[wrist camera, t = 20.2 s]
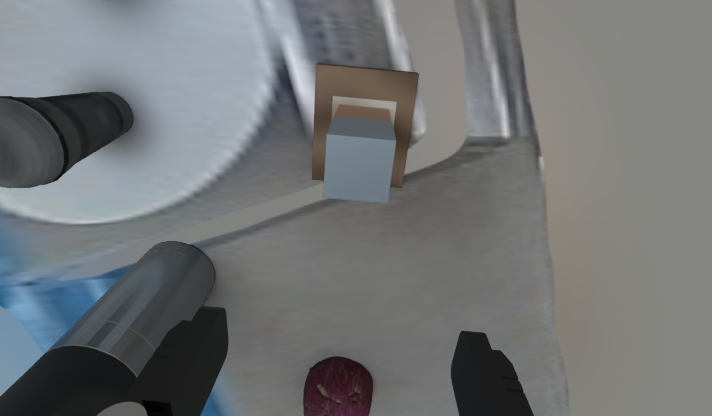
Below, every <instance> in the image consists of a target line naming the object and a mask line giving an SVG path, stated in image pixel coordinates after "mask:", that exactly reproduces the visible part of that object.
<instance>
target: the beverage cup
mask: <svg viewBox="0 0 712 416" xmlns="http://www.w3.org/2000/svg"><path fill="white" fill-rule="evenodd" d="M132 124H133V114H132V110H131V108H130V107H129V105H128V103H127V102H126V101H125V100H124V99H123V98H121V97H120V96H118V95H117V94H114V93H111V92H101V93H100V92H91V93H81V94H71V95H60V96H50V97H40V98H27V97H12V96H0V186H1V187H6V188H30V187H35V186H38V185H45V184H48V183H51V182H54V181H57V180H58V179H59V178H60V177H61V176H62V175H63V174H64V173H66V172H67V171H68V170H69V169H70V168H71V167H72V166H73V165H75V164H76V163H77V162H79V161H81V160H82V159H84V158H86V157H87V156H89V155H91V154H92V153H94V152H96V151H97V150H99V149H101V148H102V147H104V146H106V145H107V144H109V143H110V142H112V141H114V140H115V139H117V138H119V137H120V136H121V135H122V134H124V133H125V132H127V131H128V130H129V129H130V128H131V126H132Z"/></svg>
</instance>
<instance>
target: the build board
mask: <svg viewBox="0 0 712 416" xmlns="http://www.w3.org/2000/svg"><path fill="white" fill-rule="evenodd" d="M418 77H419V74H418V73H416V72H405V71H395V70H384V69H373V68H363V67H352V66H341V65H331V64H320V63H318V64H316V83H315V112H314V140H313V168H312V180H322V181H324V175H325V156H326V138H327V132H328V130H329V128H330V125H331V123H332V121H333V118H334V115H335V113H336V111H337V108H338V106H339V104H344V105H354V106H364V107H375V108H385V109H389V112H390V117H391V122H392V123H393V128H394V133H395V137H396V146H395V154H394V161H393V168H392V176H391V183H390V187H397V188H402V184H403V177H404V171H405V164H406V157H407V150H408V144H409V137H410V130H411V124H412V117H413V110H414V104H415V97H416V90H417V84H418Z"/></svg>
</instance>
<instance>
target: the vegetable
mask: <svg viewBox="0 0 712 416" xmlns="http://www.w3.org/2000/svg"><path fill="white" fill-rule="evenodd" d="M372 390H373V381H372V377H371V375H370V373H369V372H368V371H367V370H366V369H365V368H364V367H363V366H362V365H361V364H359V363H357V362H355V361H352V360H349V359H346V358H343V357H330V358H327V359H325V360H323V361H321V362H318V363H317V364H316V365H315V366H313V368H310V372H309V374H308V376H307V379H306V382H305V387H304V398H303V405H304V416H368V415H369V412H370V408H371V401H372Z"/></svg>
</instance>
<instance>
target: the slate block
mask: <svg viewBox="0 0 712 416" xmlns="http://www.w3.org/2000/svg"><path fill="white" fill-rule="evenodd" d="M395 146H396V137H395V133H394V128H393V123H392V122H388V121H377V120H367V119H356V118H346V117H336V116H334V118H333V121H332V123H331V125H330V128H329V130H328V132H327V138H326V156H325V175H324V193H323V198H332V199H343V200H353V201H363V202H374V203H384V204H388V197H389V190H390V183H391V176H392V168H393V161H394V154H395Z"/></svg>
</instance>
